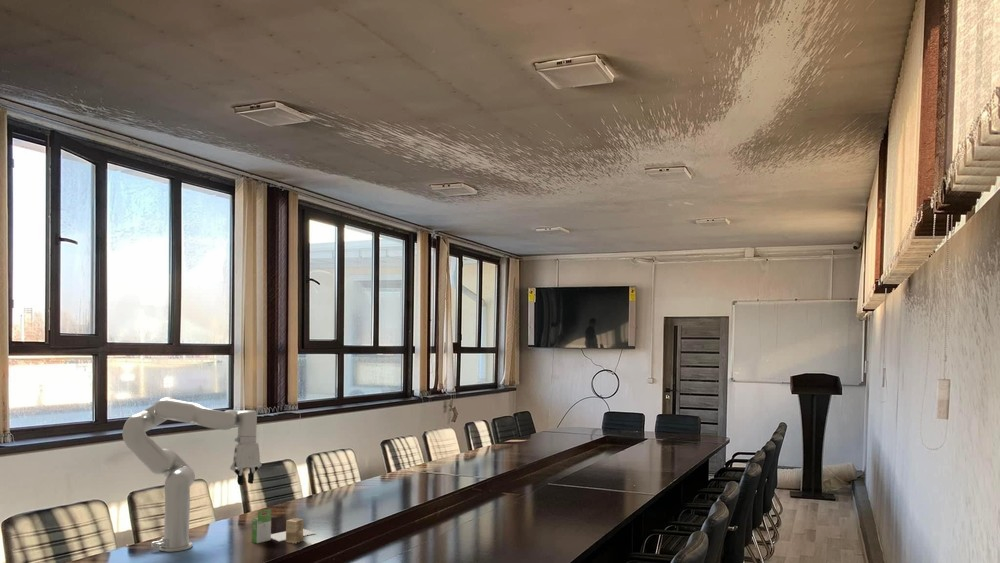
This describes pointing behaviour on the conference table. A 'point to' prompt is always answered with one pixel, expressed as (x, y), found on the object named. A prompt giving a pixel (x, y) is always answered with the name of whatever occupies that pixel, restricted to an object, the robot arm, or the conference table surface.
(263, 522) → the ink box
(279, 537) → the felt mat
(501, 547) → the conference table surface
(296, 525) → the oak block
